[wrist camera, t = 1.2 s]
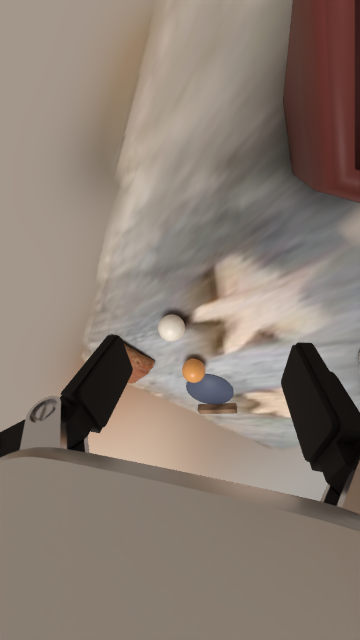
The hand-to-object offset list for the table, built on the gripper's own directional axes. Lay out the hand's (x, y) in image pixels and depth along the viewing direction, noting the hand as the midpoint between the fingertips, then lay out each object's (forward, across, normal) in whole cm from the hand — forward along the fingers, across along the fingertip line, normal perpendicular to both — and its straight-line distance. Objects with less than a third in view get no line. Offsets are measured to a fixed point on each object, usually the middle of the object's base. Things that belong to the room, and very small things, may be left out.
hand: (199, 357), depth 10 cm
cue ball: (+24, +9, +16) cm, 30 cm away
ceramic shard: (+28, +27, +31) cm, 50 cm away
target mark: (+26, +2, +41) cm, 48 cm away
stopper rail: (+26, -1, +48) cm, 55 cm away
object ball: (+23, +5, +29) cm, 38 cm away
